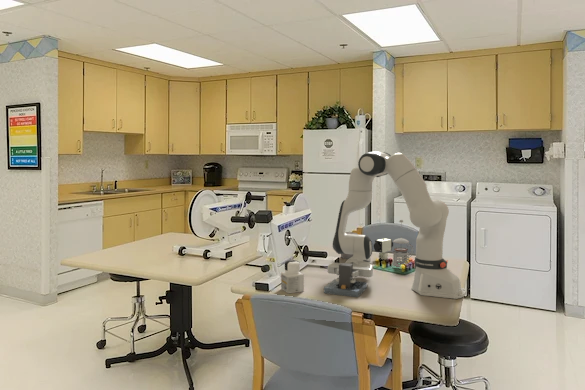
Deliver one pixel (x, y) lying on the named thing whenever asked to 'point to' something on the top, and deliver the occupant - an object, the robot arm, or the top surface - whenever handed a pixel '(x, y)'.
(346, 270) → the block
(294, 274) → the container
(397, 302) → the top surface
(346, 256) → the pillar candle
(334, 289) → the plate
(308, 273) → the top surface
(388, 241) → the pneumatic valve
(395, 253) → the french press
